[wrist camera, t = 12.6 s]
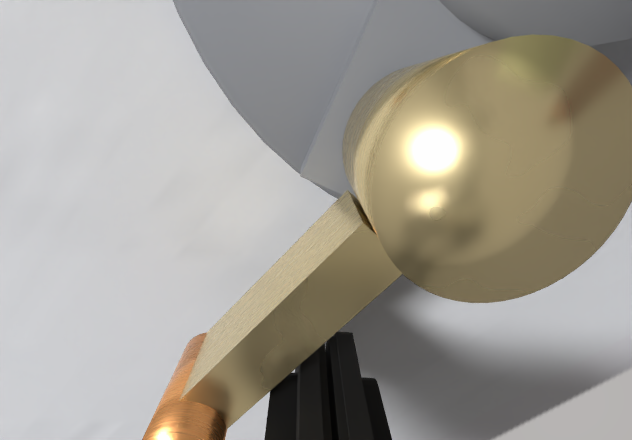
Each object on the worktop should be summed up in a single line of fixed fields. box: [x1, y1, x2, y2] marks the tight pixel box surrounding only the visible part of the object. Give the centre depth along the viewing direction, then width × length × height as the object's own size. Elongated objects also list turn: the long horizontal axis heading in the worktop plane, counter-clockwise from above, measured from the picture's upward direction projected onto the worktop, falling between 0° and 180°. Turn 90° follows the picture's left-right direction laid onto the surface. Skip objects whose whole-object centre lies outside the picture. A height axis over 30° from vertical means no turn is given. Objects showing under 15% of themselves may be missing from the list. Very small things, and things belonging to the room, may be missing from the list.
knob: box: [142, 35, 632, 440], centre depth 8 cm, size 12×4×4 cm, turn 137°
